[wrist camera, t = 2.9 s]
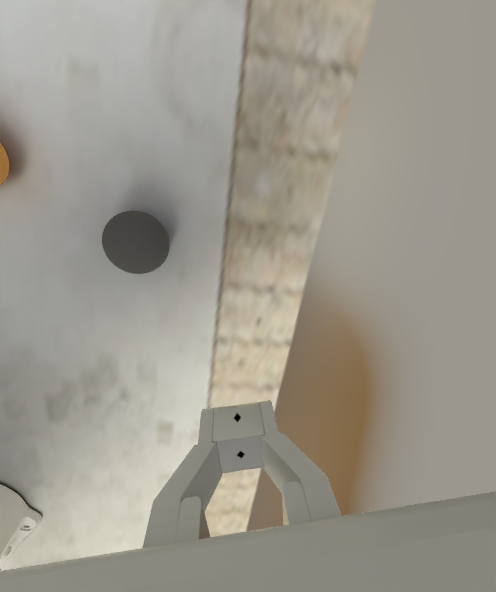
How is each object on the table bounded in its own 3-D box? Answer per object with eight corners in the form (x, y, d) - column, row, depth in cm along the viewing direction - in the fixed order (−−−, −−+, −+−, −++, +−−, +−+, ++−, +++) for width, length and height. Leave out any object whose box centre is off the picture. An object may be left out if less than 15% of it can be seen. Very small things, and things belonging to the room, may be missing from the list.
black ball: (161, 273, 27) (146, 292, 22) (109, 248, 25) (80, 262, 20) (183, 227, 25) (173, 236, 20) (129, 197, 24) (103, 198, 19)
